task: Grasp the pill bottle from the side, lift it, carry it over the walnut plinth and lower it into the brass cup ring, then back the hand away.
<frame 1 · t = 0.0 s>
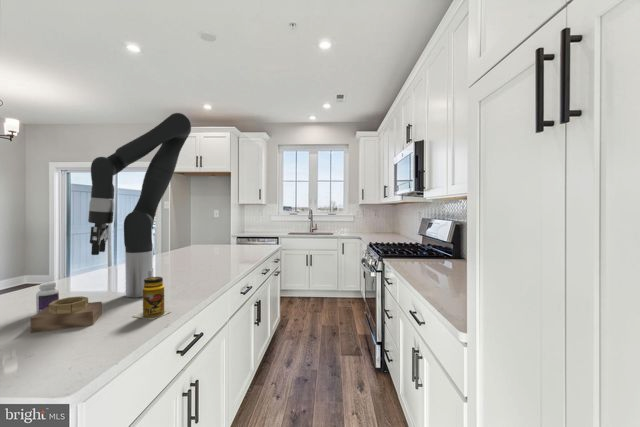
hand: (98, 253, 113), 17 cm above the counter, tool pointing down, fingers open, 8 cm apart
bracket: (69, 322, 90), on the counter
condiment: (152, 315, 97), on the counter
pill bottle: (48, 314, 97), on the counter
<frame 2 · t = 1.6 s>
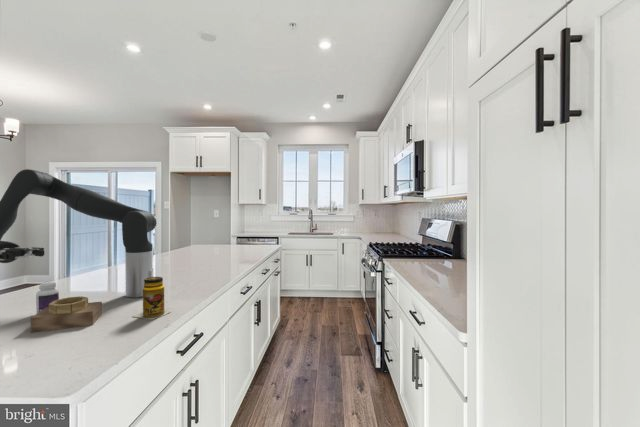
hand: (27, 255, 101), 18 cm above the counter, tool horizontal, fingers open, 8 cm apart
nothing on the counter moved.
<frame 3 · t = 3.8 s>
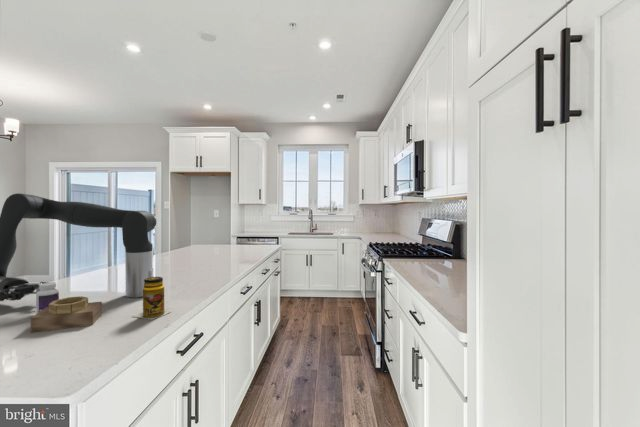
hand: (36, 292, 100), 6 cm above the counter, tool horizontal, fingers open, 8 cm apart
nothing on the counter moved.
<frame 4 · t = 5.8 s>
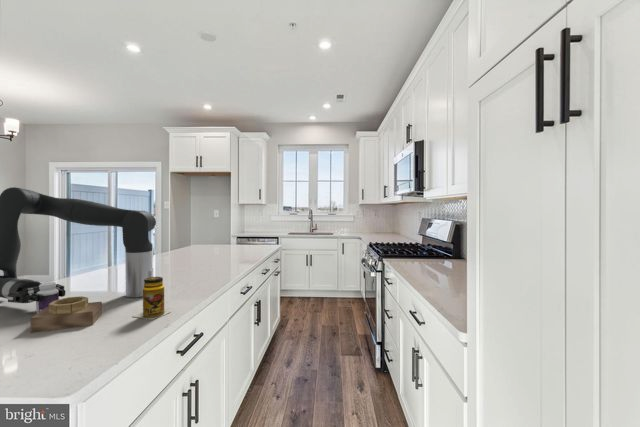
hand: (52, 295, 96), 6 cm above the counter, tool horizontal, fingers closed on pill bottle, 5 cm apart
pill bottle: (48, 314, 97), on the counter, touching gripper
everything else where it was.
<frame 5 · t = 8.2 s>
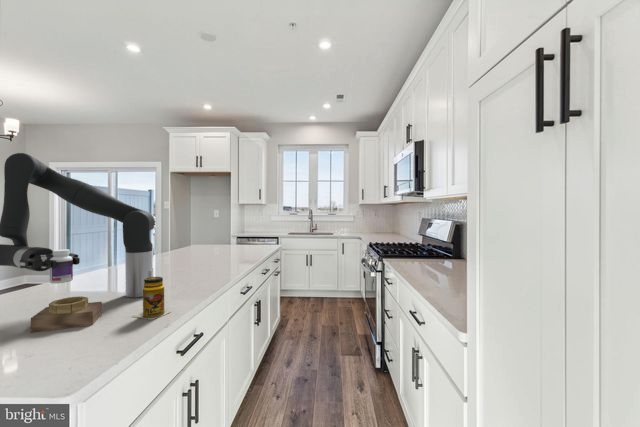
hand: (66, 262, 91), 18 cm above the counter, tool horizontal, fingers closed on pill bottle, 5 cm apart
pill bottle: (61, 282, 92), point 12 cm above the counter, touching gripper
everything else where it was.
when the fingers open (11 cm above the counter, at t = 10.5 s): pill bottle drops 1 cm, resting on bracket.
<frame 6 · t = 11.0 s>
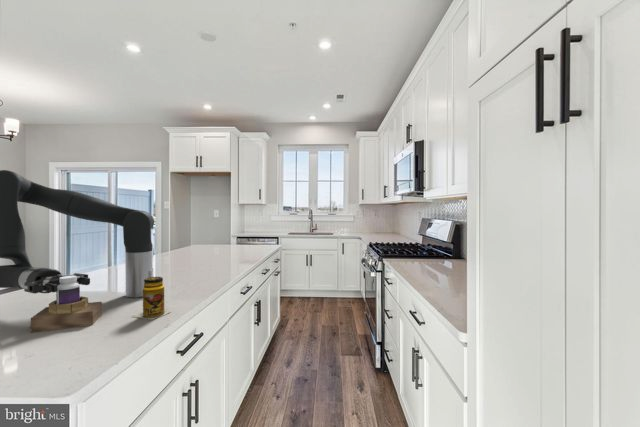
hand: (72, 284, 89), 12 cm above the counter, tool horizontal, fingers open, 8 cm apart
pill bottle: (68, 309, 90), point 4 cm above the counter, touching bracket
everything else where it was.
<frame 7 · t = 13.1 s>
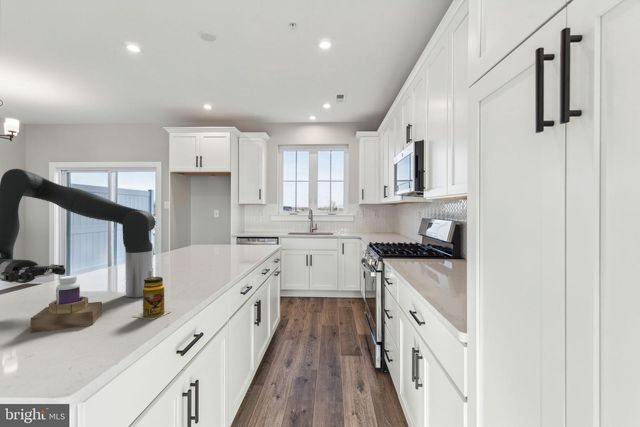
hand: (47, 274, 94), 13 cm above the counter, tool horizontal, fingers open, 8 cm apart
nothing on the counter moved.
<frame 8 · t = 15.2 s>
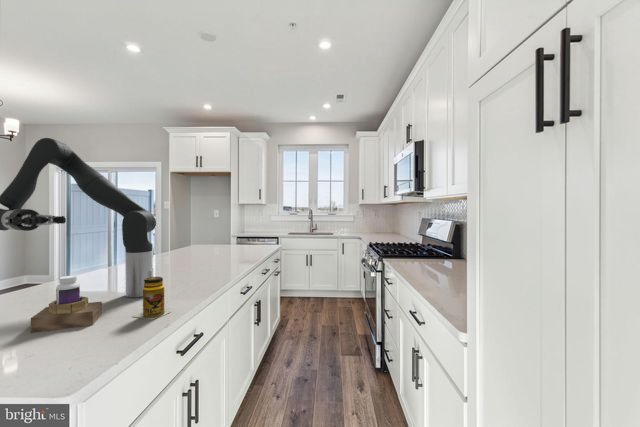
hand: (49, 220, 100), 30 cm above the counter, tool horizontal, fingers open, 8 cm apart
nothing on the counter moved.
at the end: pill bottle 0.2 cm off-centre on the bracket, point 3.8 cm above the bracket's base; pill bottle tilted 0°; the gripper is holding nothing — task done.
